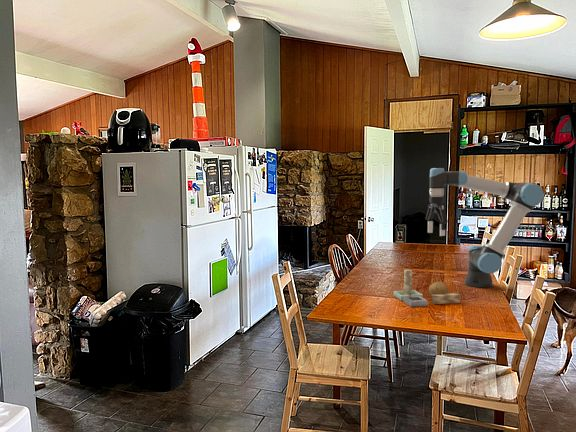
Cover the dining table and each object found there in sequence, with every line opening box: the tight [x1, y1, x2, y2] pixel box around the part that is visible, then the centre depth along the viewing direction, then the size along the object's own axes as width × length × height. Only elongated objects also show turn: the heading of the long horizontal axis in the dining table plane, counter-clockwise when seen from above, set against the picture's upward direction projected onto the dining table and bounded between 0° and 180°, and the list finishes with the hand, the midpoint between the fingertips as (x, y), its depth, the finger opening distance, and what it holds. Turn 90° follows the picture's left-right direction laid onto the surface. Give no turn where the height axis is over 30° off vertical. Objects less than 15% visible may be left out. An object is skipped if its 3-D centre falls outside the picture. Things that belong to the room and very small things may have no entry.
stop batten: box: [431, 292, 461, 305], centre depth 231 cm, size 14×3×4 cm, turn 99°
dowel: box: [403, 269, 413, 296], centre depth 240 cm, size 4×4×14 cm
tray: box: [393, 289, 424, 302], centre depth 240 cm, size 12×10×2 cm
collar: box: [402, 296, 429, 307], centre depth 229 cm, size 9×9×2 cm
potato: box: [428, 281, 449, 297], centre depth 238 cm, size 10×14×8 cm
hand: (436, 234), depth 253 cm, fingers open, 13 cm apart
